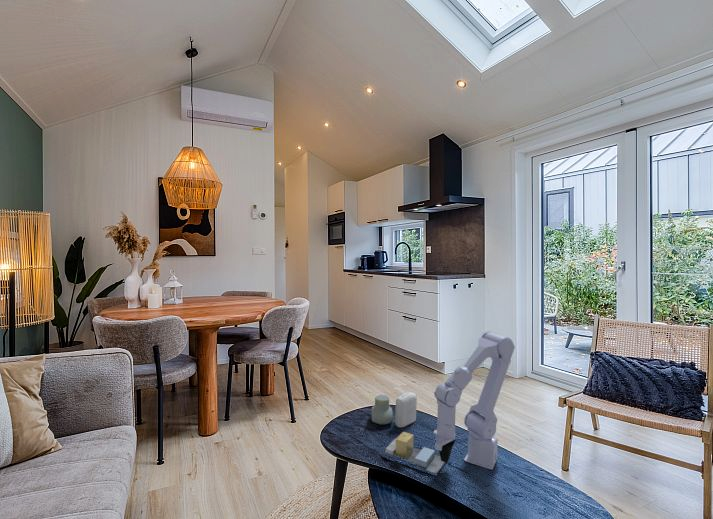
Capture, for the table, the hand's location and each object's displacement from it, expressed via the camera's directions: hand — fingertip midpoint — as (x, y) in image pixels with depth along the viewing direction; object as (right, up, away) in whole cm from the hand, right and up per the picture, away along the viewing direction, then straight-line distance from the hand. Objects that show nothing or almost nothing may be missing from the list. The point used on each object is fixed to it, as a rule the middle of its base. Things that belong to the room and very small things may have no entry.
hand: (444, 460), depth 131 cm
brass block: (-12, -1, +8) cm, 15 cm away
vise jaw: (-6, -2, +4) cm, 7 cm away
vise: (-9, -2, +6) cm, 11 cm away
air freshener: (-19, -1, +33) cm, 38 cm away
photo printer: (-9, -1, +31) cm, 33 cm away
